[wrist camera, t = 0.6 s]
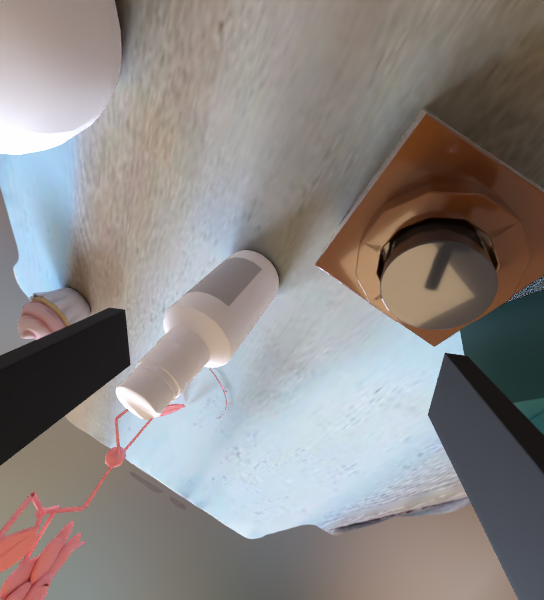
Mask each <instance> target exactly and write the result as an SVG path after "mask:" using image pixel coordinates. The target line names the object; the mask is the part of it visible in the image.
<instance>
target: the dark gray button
mask: <svg viewBox="0 0 544 600" xmlns="http://www.w3.org/2000/svg"><path fill="white" fill-rule="evenodd" d="M497 289H498V277H497V272H496V270H495V268H494V265H493V263H492V261H491V259H490V256H489V254H488V252H487V250H486V247H485V245H484V243H483V242H482V240H481V239H480V238H479V237H478V236H477V235H476V234H475V233H474V232H473V231H471V230H470V229H468V228H466V227H464V226H461V225H459V224H455V223H450V222H430V223H425V224H421V225H418V226H416V227H413V228H411V229H409V230H407V231H406V232H404V233H403V234H401V235H400V236H399V237H398V238H397V239H396V240H395V241H394V242H393V243H392V244H391V246H390V248H389V249H388V251H387V253H386V256H385V260H384V265H383V270H382V275H381V280H380V294H381V298H382V301H383V303H384V305H385V306H386V308H387V309H388V310H389V312H391V313H392V314H393V315H394V316H395V317H396V318H397V319H399V320H401V321H402V322H404V323H406V324H408V325H411V326H414V327H417V328H422V329H429V330H443V329H450V328H455V327H458V326H461V325H464V324H467V323H469V322H471V321H473V320H474V319H476V318H477V317H479V316H480V315H481V314H483V313H484V312H485V311H486V310H487V309H488V307H489V306H490V305H491V304H492V302H493V300H494V298H495V296H496V293H497Z"/></svg>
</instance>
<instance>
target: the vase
mask: <svg viewBox="0 0 544 600" xmlns="http://www.w3.org/2000/svg"><path fill="white" fill-rule="evenodd" d="M121 61H122V49H121V30H120V25H119V20H118V15H117V10H116V5H115V0H0V153H3V154H15V155H20V154H26V153H32V152H37V151H43V150H47V149H50V148H53V147H56V146H59V145H61V144H63V143H64V142H66V141H67V140H69V139H71V138H72V137H74V136H75V135H77V134H78V133H80V132H81V131H83V130H84V129H86V128H87V127H89V126H90V125H91V124H92V123H93V122H94V121H95V120H96V119H97V118H98V117H99V116H100V115H101V114H102V112H103V111H104V109H105V107H106V106H107V104H108V103H109V101H110V99H111V98H112V95H113V93H114V91H115V88H116V86H117V83H118V81H119V75H120V68H121Z"/></svg>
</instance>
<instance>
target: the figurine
mask: <svg viewBox="0 0 544 600" xmlns="http://www.w3.org/2000/svg"><path fill="white" fill-rule="evenodd" d="M210 370H211V369H210ZM211 372H212V370H211ZM212 373H213V372H212ZM213 374H214V373H213ZM214 375H215V374H214ZM215 377H216V375H215ZM216 378H217V377H216ZM217 380H218V378H217ZM218 382H219V380H218ZM219 383H220V382H219ZM220 385H221V383H220ZM221 387H222V385H221ZM222 389H223V387H222ZM224 389H225V388H224ZM223 391H224V390H223ZM225 391H226V390H225ZM226 393H227V391H226ZM224 394H225V392H224ZM225 398H226V396H225ZM226 405H227V402H226ZM183 407H185V405H183V404H172V405H168V406H167V407H166V408H165V409H164V411H163V412H162V413H161V414H160V416H164V415H167V414H170V413H172V412H175V411H177V410H179V409H181V408H183ZM228 408H229V407H228ZM225 410H226V409H225ZM127 411H129V410H128V409H126V410H125V411H123V412H122V413H121V414H120V415H118V416H117V417H116V418H115V430H116V443H117V447H114V448H112V449H110V450H109V451H108V452H107V454H106V457H105V462H106V464H107V465H108V467H109V468H108V470H107V471H106V473H105V474H104V476H103V477H102V479H101V480H100V482H99V483H98V485H97V486H96V488H95V489H94V491H93V492H92V494H91V495H90V497H89V498H88V500H87V501H86V503H85V504H84V506H79V507H69V508H59V505H56V506H53V507H50V508H45V507H42V504H41V502H40V501H39V499H38V497H37V495H36V493H35V492H32V493H31V495H30V496H28V497H27V499H26V500H25V501H24V502H23V504H22V505H21V506H20V507H19V508H18V510H17V511H16V512H15V513H14V515H13V516H12V517H11V518H10V519H9V521H8V522H7V523H6V524H5V526H4V527H3V528H2V530H1V531H0V572H2V571H4V570H6V569H8V568H9V567H11V566H12V565H14V564H15V563H16V562H18V561H19V560H21V559H22V558H23V557H24V559H23V560H22V561H21V562H20V563H19V567H18V568H17V569H16V570H15V571H14V572H13V573H12V574H11V575H10V576H9V577H8V578H7V579H6V581H5V582H4V584H3V586H2V588H1V591H0V598H1V600H44V599H45V598H46V595H47V591H48V587H49V585H50V583H51V579H52V578H53V576H54V575H55V574H56V573H57V571H58V570H59V569H60V568H61V566H62V565H63V564H64V563H65V561H66V560H67V559H68V557H69V556H70V554H71V553H72V551H73V550H74V549H76V548H78V547H80V546H82V545H83V544H84V543H85V541H83V542H78V541H79V540H80V538H81V533H78V534H77V535H75V536H74V537H73V538H72V539H71V540H70V541H69V542H68V543H67V544H66V545H65V543H66V541H67V539H68V537H69V535H70V533H71V530H72V528H73V525H74V521H71V522H69V523H68V524H67V525H66V526H65V527H64V528H63V529H62V530H61V532H60V533H59V534H58V535H57V536H56V537H55V538H54V539H52V540H51V542H49V544H48V545H47V546H46V547H45V549H44V550H43V551H42V553H41V554H40V555H39V556H36V557H34V558H32V559H30V560H29V557H30V555H31V554H32V552H33V550H34V548H35V547H36V545H37V543H38V542H39V540H40V538H41V537H42V535H43V533H44V532H45V530H46V528H47V527H48V525H49V523H50V521H51V520H52V518H53V516H54V515H55V513H61V512H74V511H82V509H83V508H87V507H88V505H89V503H90V502H91V500H92V499H93V497H94V496H95V494H96V492H97V491H98V489H99V487H100V486H101V484H102V483H103V481H104V479H105V478H106V476H107V475H108V473H109V471H110V470H111V468H114V467H118V466H120V465H121V464H122V463H123V462H124V460H125V457H126V452H125V451H126V450H127V449H128V448H129V446H130V445H131V444H132V443H133V442H134V440H135V439H136V438H137V437H138V436H139V435H140V433H141V432H142V431H143V430H144V429H145V427H146V426H147V425H148V424H149V423H150V421H151V420H152V419H153V418H151V419H150V420H149V421H148V422H147V423H146V425H145V426H144V427H143V428H142V429H141V430H140V432H139V433H138V434H137V435H136V436H135V437H134V439H133V440H132V441H131V442H130V443H129V444H128V445H127V447H126V448H125V449H123V448H121V447H120V444H119V432H118V420H117V419H118V418H120V417H121V416H122V415H124V414H125V413H126V412H127ZM223 414H224V413H223ZM160 416H158V417H160ZM221 416H222V415H221ZM221 416H220V417H221ZM220 417H219V418H220ZM31 500H32V502H33V503H34V505H35V507H36V509H37V512H36V517H37V521H36V524H35V526H34V527H30V528H27V529H24V530H21V531H18V532H15V533H13V534H10V535H7V536H5V537H3V535H4V534H5V533H6V531H7V530H8V529H9V528H10V527H11V525H12V524H13V523H14V522H15V520H16V519H17V518H18V516H19V515H20V514H21V513H22V511H23V510H24V509H25V508H26V506H27V505H28V504H29V502H30V501H31ZM47 513H51V514H50V516H49V518H48V519H47V521H46V522H45V524H44V526H43V527H42V529H41V531H40V533H39V534H38V536H37V537H36V535H37V532H38V529H39V526H40V523H41V520H42V517H44V516H45V515H46V514H47ZM64 545H65V546H64ZM24 555H25V556H24Z"/></svg>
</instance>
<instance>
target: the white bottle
mask: <svg viewBox="0 0 544 600" xmlns="http://www.w3.org/2000/svg"><path fill="white" fill-rule="evenodd" d="M278 289H279V277H278V274H277V272H276V269H275V268H274V266H273V265H272V264H271V262H270V261H269V260H268V259H267V258H265V257H264V256H263V255H261V254H259V253H257V252H254V251H248V250H242V251H238V252H235V253H233V254H232V255H231V256H229V257H228V258H227V259H226V260H225V261H223V262H222V263H221V264H220V265H219V266H217V267H216V268H215V269H214V270H213V271H212V272H210V273H209V274H208V275H207V276H206V277H205V278H203V279H202V280H201V281H200V282H199V283H198V284H196V285H195V286H194V287H193V288H192V289H191V290H189V291H188V292H187V293H186V294H185V295H183V296H182V297H181V298H180V299H179V300H178V301H176V302H175V303H174V304H173V305H172V306H171V307H169V308H168V310H167V311H166V314H165V316H164V329H165V332H166V334H165V335H164V336H163V337H162V338H161V339H160V340H159V341H158V342H157V344H156V345H155V346H154V347H153V348H152V349H151V350H150V351H149V352H148V353H147V354H146V355H145V356H144V357H143V358H142V359H141V360H139V361H138V363H137V365H136V367H135V368H134V370H133V372H132V373H131V374H130V376H129V377H128V378H127V379H126V380H125V381H123V382H122V383H120V384H119V385H118V386H117V388H116V390H115V391H116V395H117V397H118V399H119V400H120V401H121V403H122V404H123V405H124V406H125V407H126V408H127V409H128V410H129V411H131V412H132V413H133V414H135V415H136V416H138V417H140V418H142V419H144V420H148V419H151V418H155V417H158V416H160V414H161V413H162V412H163V411H164V409H165V408H166V407H167V406H168V405H169V403H170V402H172V401H173V400H174V399H175V398H178V397H179V396H180V395H181V393H182V392H183V391H184V389H185V388H186V387H187V386H188V384H189V383H190V382H191V381H192V379H193V378H194V377H196V376H197V375H198V374H199V372H200V371H201V370H202V368H203V367H204V366H205V367H220V366H222V365H225V364H226V363H227V362H228V361H229V360H230V359H231V358H232V356H233V355H234V354H235V352H236V351H237V349H238V348H239V347H240V345H241V344H242V342H243V341H244V340H245V338H246V337H247V335H248V334H249V332H250V331H251V330H252V328H253V327H254V325H255V324H256V323H257V321H258V320H259V318H260V317H261V316H262V314H263V313H264V311H265V310H266V309H267V307H268V306H269V304H270V303H271V302H272V300H273V299H274V297H275V296H276V294H277V292H278Z"/></svg>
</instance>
